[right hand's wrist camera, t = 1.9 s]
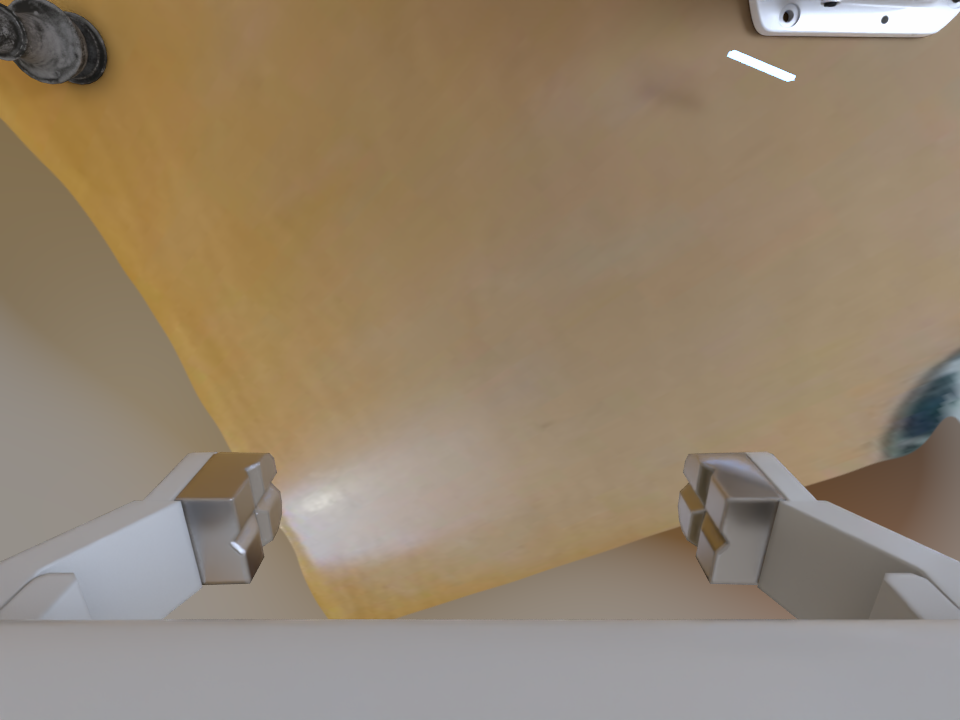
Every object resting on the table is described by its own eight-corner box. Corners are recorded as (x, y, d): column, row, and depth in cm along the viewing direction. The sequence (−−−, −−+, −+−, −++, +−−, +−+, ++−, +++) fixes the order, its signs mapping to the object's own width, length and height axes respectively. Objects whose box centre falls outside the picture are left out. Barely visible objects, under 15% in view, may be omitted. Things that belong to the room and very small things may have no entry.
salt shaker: (85, 104, 46) (-41, 91, 35) (23, 45, 44) (-131, 13, 33) (124, 51, 44) (6, 20, 33) (61, -11, 43) (-86, -65, 31)
